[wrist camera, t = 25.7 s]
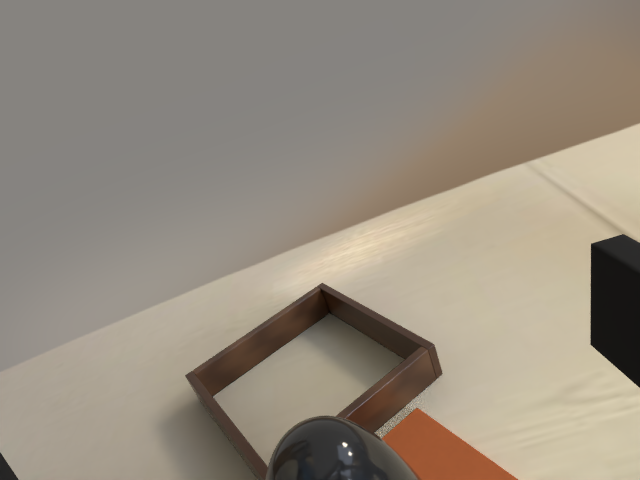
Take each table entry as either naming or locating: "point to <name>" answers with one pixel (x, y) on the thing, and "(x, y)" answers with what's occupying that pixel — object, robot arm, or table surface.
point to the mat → (440, 451)
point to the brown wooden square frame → (289, 324)
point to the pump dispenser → (335, 453)
